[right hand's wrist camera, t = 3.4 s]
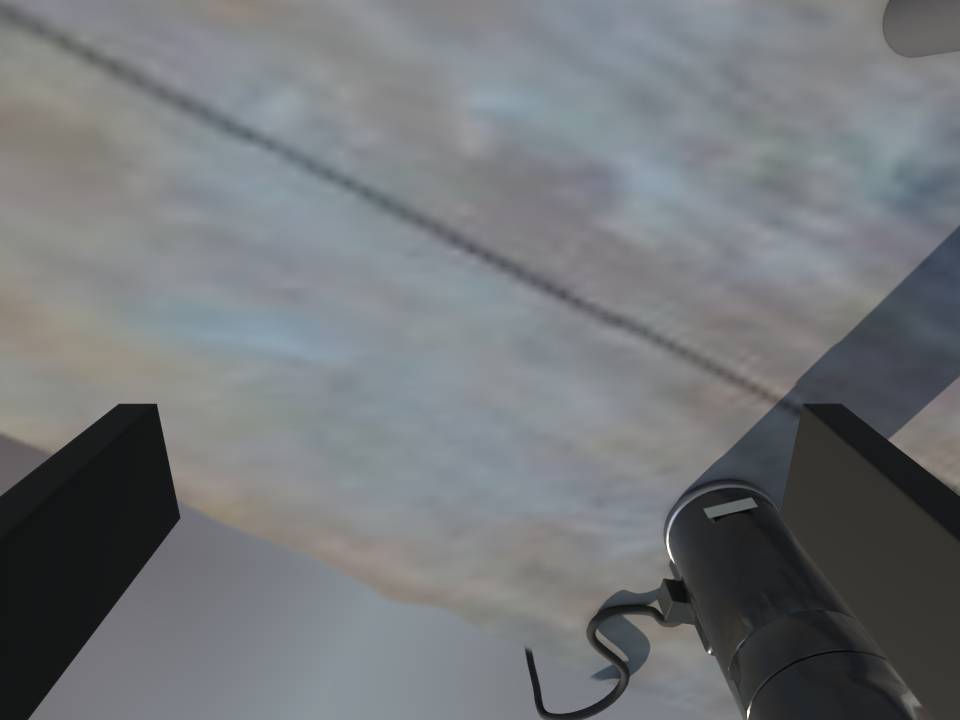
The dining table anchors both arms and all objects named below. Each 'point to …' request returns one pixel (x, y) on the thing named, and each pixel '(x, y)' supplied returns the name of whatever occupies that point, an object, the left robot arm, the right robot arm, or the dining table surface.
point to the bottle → (922, 26)
